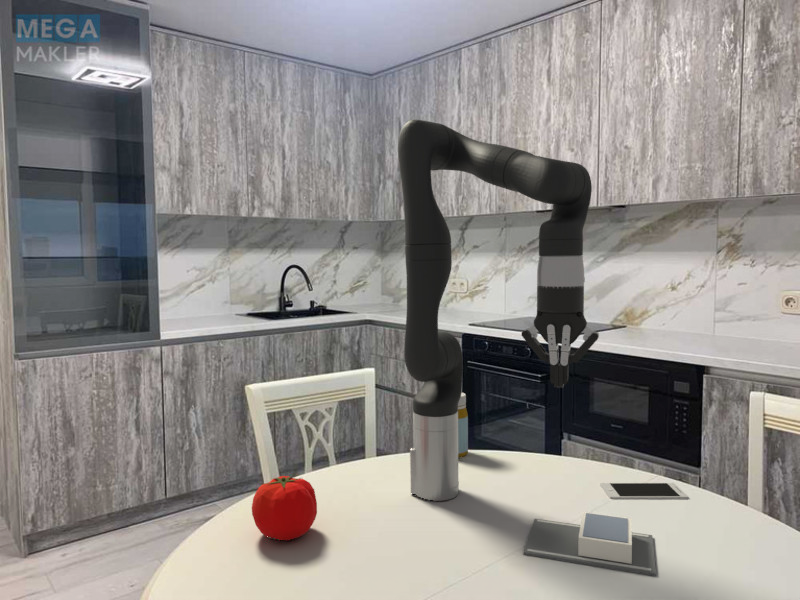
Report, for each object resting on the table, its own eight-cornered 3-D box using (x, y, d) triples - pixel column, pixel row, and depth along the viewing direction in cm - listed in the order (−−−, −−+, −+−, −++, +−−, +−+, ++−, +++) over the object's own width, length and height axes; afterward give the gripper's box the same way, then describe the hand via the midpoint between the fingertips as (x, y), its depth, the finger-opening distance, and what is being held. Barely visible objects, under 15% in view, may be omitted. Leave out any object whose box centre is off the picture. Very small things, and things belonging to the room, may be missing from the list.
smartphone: (599, 486, 125) (599, 482, 125) (673, 486, 125) (673, 482, 125) (610, 501, 118) (610, 496, 118) (688, 501, 118) (689, 496, 118)
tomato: (329, 539, 103) (327, 481, 103) (265, 557, 98) (262, 496, 97) (303, 514, 114) (301, 461, 113) (244, 529, 108) (242, 474, 107)
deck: (578, 536, 95) (631, 544, 92) (582, 511, 104) (631, 517, 102) (578, 556, 95) (631, 564, 93) (582, 529, 105) (631, 536, 102)
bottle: (470, 450, 148) (470, 391, 147) (464, 460, 142) (463, 398, 141) (443, 448, 151) (443, 390, 149) (436, 457, 144) (435, 396, 143)
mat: (523, 554, 97) (523, 551, 97) (534, 520, 109) (534, 518, 109) (655, 576, 90) (655, 572, 90) (652, 537, 102) (652, 534, 102)
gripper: (516, 284, 97) (515, 388, 98) (601, 285, 92) (599, 394, 94) (523, 282, 104) (523, 379, 105) (603, 282, 99) (601, 384, 101)
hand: (559, 386), depth 99 cm, fingers closed
